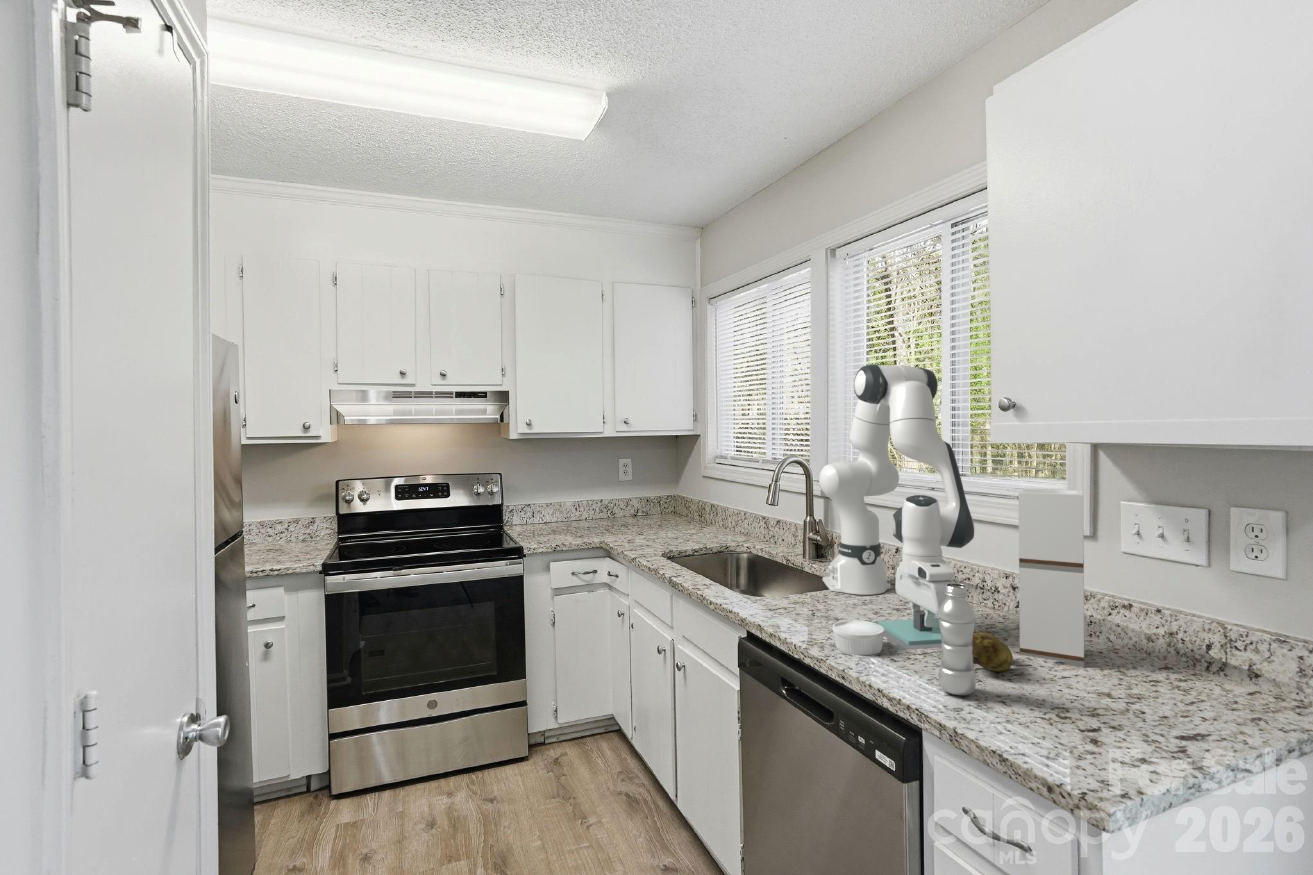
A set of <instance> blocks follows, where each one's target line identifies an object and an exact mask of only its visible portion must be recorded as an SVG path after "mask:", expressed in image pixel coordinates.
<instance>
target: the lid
mask: <svg viewBox="0 0 1313 875" xmlns="http://www.w3.org/2000/svg"><path fill="white" fill-rule="evenodd" d="M925 614H926V613H925V612H924V609H922V610H921V609H920V611H913V613H912V619H902V620H901V619H898V620H883V621H877V622H878V625H881V626H882V627H883V628H884V629H885V630H887V631H888V632H890V633H891V634H893V635H894V636H896V637H898V638H899V639H901V640H902V641H904V642H905V643H907V644H908V645H914V644H930V643H942V641H941V630H940V624H939V620H938V619H936V617H934V619H933V626H932V627H925V626H924V625H923V620H922V618H925Z"/></svg>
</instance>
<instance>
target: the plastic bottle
mask: <svg viewBox="0 0 1313 875" xmlns="http://www.w3.org/2000/svg"><path fill="white" fill-rule="evenodd" d="M945 595H946V596H947V598H946V599H945V600H944V601H943V603H942V604H941V606H940V607H939V611H938V615H937V616H938V617H937V618H939V624H940V630H941V641H942V647H941V651H940V652H941V654H940V664H939V669H938V675H937V676H938V681H939V685H940V687H941V689H942V690H943V691H944V692H945V693H948V694H951V695H956V696H970V695H972V694H973V692H974V691H975V690H976V687H977V675H976V670H975V666H974V665H975V664H974V663H973V653H972V647H973V646H972V644H973V635H974V632H975V625H976V624H975V622H976V614H975V610H974V608H973V607H972V605H971V603H969V601H968V599H967V597H968V587H967V585H966V584H963V583H957V582H956V583H955V582H952V583H948V584H946V591H945Z"/></svg>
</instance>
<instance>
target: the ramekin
mask: <svg viewBox="0 0 1313 875" xmlns="http://www.w3.org/2000/svg"><path fill="white" fill-rule="evenodd" d="M872 622H873V621H866V620H854V619H853V620H842V621H837V622H835V623H834V624H833V625H832V632H833V636H834V641H835V646H836V648H837V650H838V651H839V652H841V653H842V654H843V655H846V656H850V657H853V655H858V656H869V655H870V656H872V655H876V654H879V653H880V652H882V650H883V643H884V638H885V637H884V634H885V629H884V628H883V627H882V626H881V625H878V624H876V623H872Z"/></svg>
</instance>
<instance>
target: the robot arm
mask: <svg viewBox="0 0 1313 875" xmlns="http://www.w3.org/2000/svg"><path fill="white" fill-rule="evenodd" d="M854 377H855V378H854V382H853V389H854V394H855V396H856V397H857V402H856V405H855V408H854V412H853V416H852V422H851V426H850V431H849V435H848V438H849V442H850V444H851V445H852V446H853V447H854V448H855V449H857V450H858V452H859V454H858V458H857V460H842V461H839V460H838V461H836V462H832V463H829V464H826V465H824V466H823V467H822V469H821V470H820V472H819V477H818V483H819V487H820V489H821V491H822V492H823V493H824V494H825V495H826V497H828V498H829V499H830V500H831V501H832V502H833V504H834V506H835V508H836V510H837V514H838V516H839V524H840V525H839V526H840V542H838V543H839V544H838V552H837V553H838V554H837V556H835V558H833V560H832V561H831V562H830V564H829V565H827V570H826V571H827V574H829V575H826V576H823V577H822V582H824V584H825V586H826V587H827V588H828V589H829V590H830V591H831V592H837V593H844V594H845V593H846V594H851V595H863V596H864V595H866V596H867V595H879V594H882V593H885V592H886V591H887V590H889V589H891V588H892V587H891V586H892V585H891V583H888V581H887V570H886V562H885V560H884V559H882V557H881V555H882V544H881V542H880V520H879V517H878V515H877V514H876V513H875V512H873V511H872V510H870V509H868V507H867V506H866V502H865V498H866V497H874V496H875V497H876V496H882V495H885V494H888V493H891V492H894V491H895V490H896V489H897V487H898V485H899V483H900V482H899V481H900V480H899V479H900V474H899V471H898V468H897V467H896V466H895V464H894V463H893V462H892V460H891V459H890V456H889V441H890V440H891V444H892V445H893V448H895V450H896V451H897V452H899V453H900V454H901V455H902V456H904V457H907V458H909V459H911V460H913V461H917V462H920V463H923V464H925V465H928V466H930V467H932V468H934V469H935V470H936V471H937V472H938V473H939V475H940V478H941V481H942V486H943V489H944V493H945V494H944V495H945V497H946V502H947V505H944V506H940V503H939V500H938V499H937V498H935V497H933V496H930V495H924V494H923V495H922V494H917V495H916V494H915V495H911V496H910V495H909V496H907V497H905V499H904V500H903V506H901V507H899V508H898V509H897V510H896V511H895V512H894V513H893V515H892V517H893V533H892V536H893V538H895V539H896V540H898V541H899V542H900V543H902V544H903V546H902V549H901V560H900V562H899V564H898V565H899V566H897V569H896V573H895V587H894V588H895V592H896V594H897V595H898V596H900V597H902V598H904V599H906V600H908V601H909V606H910V610H911V613H912V614H913V611H920V610H921V608H923V610H924V612H925V613H926V614H925V618H922V620H923V625H924V626H925V627H932V626H933V619H934V618H936V617H935V616H938V611H939V607H940V606H941V604H942V603H943V601H944V600H945V599H946V598H947V596H946V595H945V591H946V584H948V583H953V582H952V581H954V580H955V578H956V576H955V571H954V569H953V568H951V567H950V566H949V564H947V562H946V561H945V559H943V551H942V548H941V547H947V548H948V547H949V548H954V549H955V548H957V549H962V548H964V547H965V546H967V545H968V544H969V543H971V541H973V539H974V538H975V537H974V536H975V521H974V520H973V517H972V514H971V511H970V509H969V505H968V501H967V498H966V494H965V489H964V487H963V482H962V477H961V474H960V469H959V466H958V462H957V459H956V456H955V453H954V450H953V448H952V445H951V443H949V442H947V441H945V440H943V438H942V437H941V436H940V434H939V431H938V428H937V423H936V422H937V421H936V410H935V405H934V404H935V403H934V399H935V397H936V395H937V392H938V386H939V385H938V384H939V383H938V379H937V376H936V374H935V373H934V372H933V371H931V370H930V369H927V368H924V367H914V366H909V365H903V364H896V365H895V364H894V365H893V364H879V365H878V364H876V363H875V364H866V365H863V366H861V367H860V368H859V369H858V370H857V371H856V373H855V376H854Z"/></svg>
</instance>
